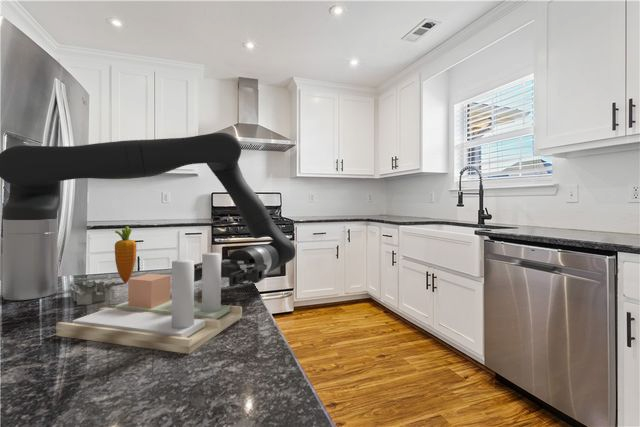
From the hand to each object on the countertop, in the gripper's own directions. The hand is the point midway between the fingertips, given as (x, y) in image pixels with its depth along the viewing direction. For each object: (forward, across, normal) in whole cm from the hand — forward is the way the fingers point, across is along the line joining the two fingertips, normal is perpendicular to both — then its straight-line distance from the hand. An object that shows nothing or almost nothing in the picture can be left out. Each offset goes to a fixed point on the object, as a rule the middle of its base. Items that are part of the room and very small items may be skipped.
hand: (209, 279), depth 58 cm
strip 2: (-1, -8, +7) cm, 10 cm away
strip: (+7, -8, +7) cm, 13 cm away
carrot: (-21, -38, +8) cm, 44 cm away
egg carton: (-7, -34, +8) cm, 35 cm away
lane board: (+3, -8, +8) cm, 12 cm away
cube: (-1, -13, +6) cm, 14 cm away
